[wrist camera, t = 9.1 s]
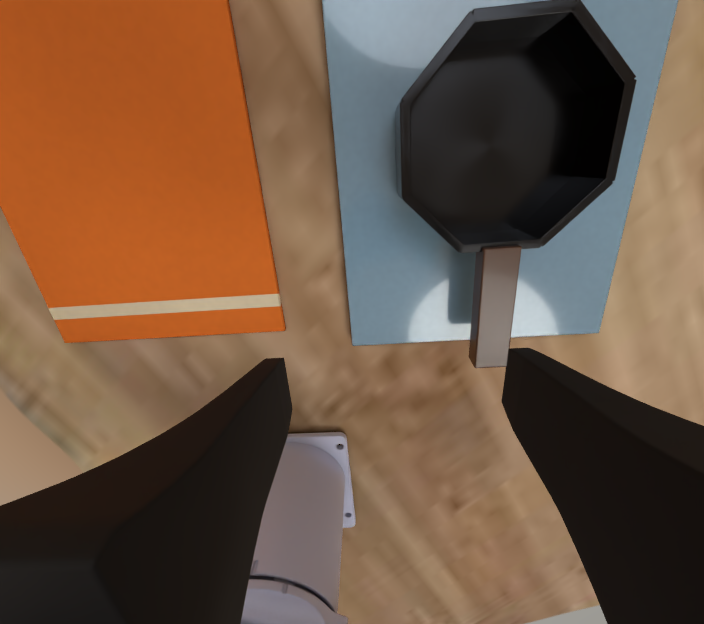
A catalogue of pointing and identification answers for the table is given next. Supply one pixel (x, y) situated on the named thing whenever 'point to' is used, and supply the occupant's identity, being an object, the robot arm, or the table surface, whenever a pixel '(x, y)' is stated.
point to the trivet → (419, 237)
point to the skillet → (511, 143)
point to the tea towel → (134, 168)
